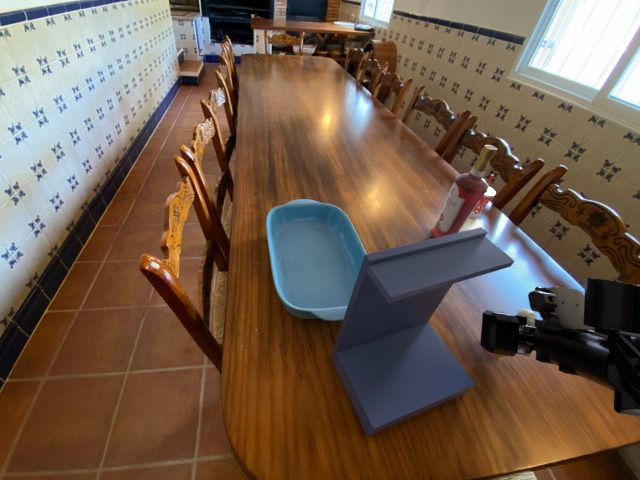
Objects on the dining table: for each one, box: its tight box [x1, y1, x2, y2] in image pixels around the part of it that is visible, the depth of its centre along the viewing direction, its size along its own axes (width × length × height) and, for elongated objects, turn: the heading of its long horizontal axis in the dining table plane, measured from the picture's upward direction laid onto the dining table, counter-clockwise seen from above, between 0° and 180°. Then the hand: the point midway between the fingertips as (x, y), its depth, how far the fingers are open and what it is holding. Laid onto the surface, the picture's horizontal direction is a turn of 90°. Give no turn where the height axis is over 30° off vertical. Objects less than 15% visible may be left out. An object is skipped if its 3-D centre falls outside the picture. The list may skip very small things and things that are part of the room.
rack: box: [330, 226, 515, 438], centre depth 45 cm, size 13×20×28 cm, turn 110°
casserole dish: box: [265, 198, 368, 322], centre depth 70 cm, size 37×22×7 cm, turn 9°
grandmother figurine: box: [490, 308, 538, 362], centre depth 54 cm, size 8×4×13 cm, turn 24°
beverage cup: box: [469, 174, 497, 218], centre depth 90 cm, size 6×6×14 cm
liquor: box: [430, 144, 498, 238], centre depth 75 cm, size 7×7×28 cm
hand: (510, 327), depth 54 cm, fingers closed on grandmother figurine, 3 cm apart
